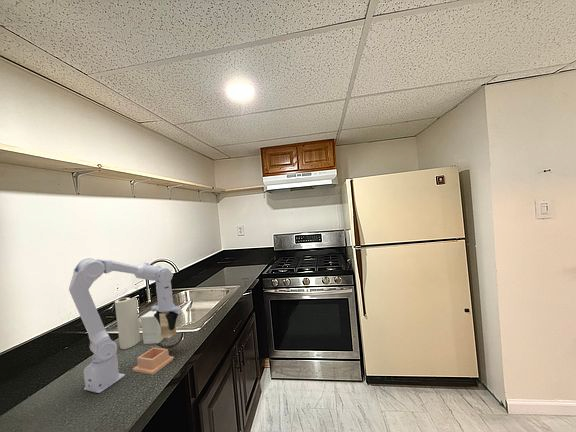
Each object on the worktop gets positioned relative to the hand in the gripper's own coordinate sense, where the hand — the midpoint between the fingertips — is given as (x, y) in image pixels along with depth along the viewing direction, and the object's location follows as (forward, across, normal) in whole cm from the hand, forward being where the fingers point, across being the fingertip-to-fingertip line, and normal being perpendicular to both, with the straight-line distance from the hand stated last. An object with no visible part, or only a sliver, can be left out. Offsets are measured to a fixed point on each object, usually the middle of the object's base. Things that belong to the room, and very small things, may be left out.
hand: (168, 328), depth 111 cm
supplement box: (+10, +16, -7) cm, 20 cm away
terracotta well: (+10, -1, +9) cm, 13 cm away
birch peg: (+3, 0, 0) cm, 3 cm away
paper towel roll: (+10, +24, 0) cm, 26 cm away
